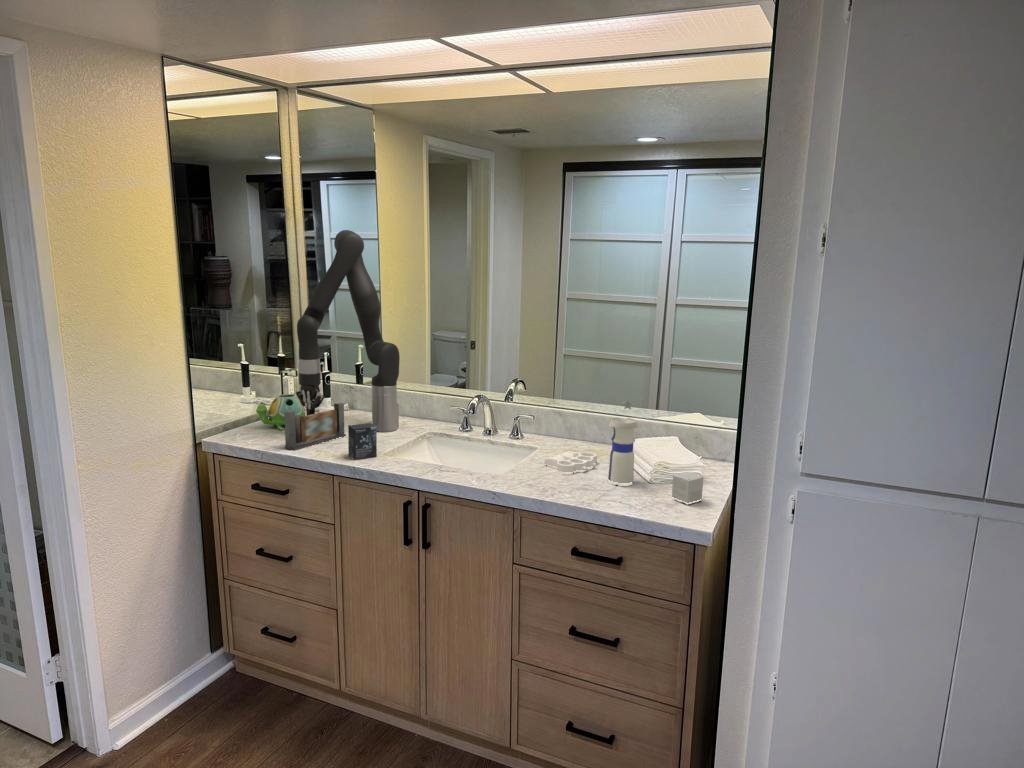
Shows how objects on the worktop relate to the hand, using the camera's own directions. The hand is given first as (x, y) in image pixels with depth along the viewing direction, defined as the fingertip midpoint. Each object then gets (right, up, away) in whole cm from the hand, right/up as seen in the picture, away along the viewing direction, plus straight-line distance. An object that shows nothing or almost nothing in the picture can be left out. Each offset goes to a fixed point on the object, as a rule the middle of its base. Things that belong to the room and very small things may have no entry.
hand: (310, 418), depth 252 cm
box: (+23, -12, -21) cm, 33 cm away
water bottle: (+105, -17, -40) cm, 114 cm away
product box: (+121, -21, -54) cm, 135 cm away
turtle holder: (-14, -4, +14) cm, 21 cm away
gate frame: (+3, -8, -6) cm, 10 cm away
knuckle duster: (+92, -15, -26) cm, 97 cm away
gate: (+3, -6, -6) cm, 9 cm away
